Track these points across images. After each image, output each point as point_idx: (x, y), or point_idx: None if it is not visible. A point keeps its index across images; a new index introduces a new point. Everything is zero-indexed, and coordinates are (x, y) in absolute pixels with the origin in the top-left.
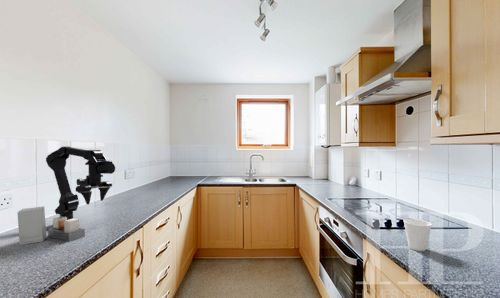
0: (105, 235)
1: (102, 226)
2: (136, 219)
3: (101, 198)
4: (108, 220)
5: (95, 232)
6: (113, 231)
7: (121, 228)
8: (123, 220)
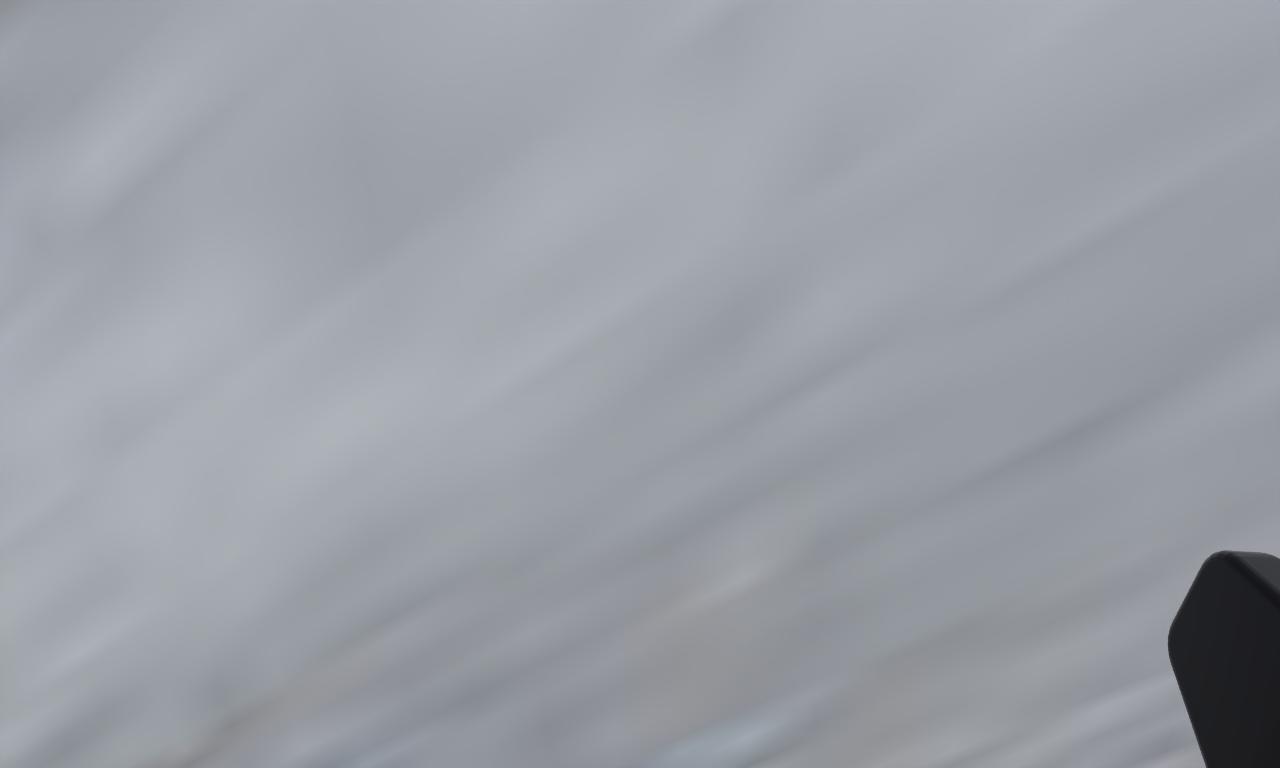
0: (31, 715)
1: (541, 321)
2: (1088, 695)
3: (1267, 710)
4: (1109, 126)
5: (102, 449)
6: (272, 714)
7: (469, 741)
8: (1047, 500)
